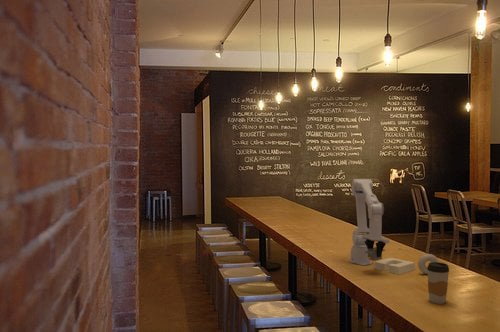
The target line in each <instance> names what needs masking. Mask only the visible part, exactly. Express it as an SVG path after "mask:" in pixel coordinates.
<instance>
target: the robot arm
mask: <svg viewBox="0 0 500 332" xmlns="http://www.w3.org/2000/svg"><path fill="white" fill-rule="evenodd" d="M373 185H374V184H373V181H372V179H371V178H353V179H352V181H351V186H350V187H351V194H352V196H353V197H355V206H356V209H355V210H356V221H357V222H356V223H357V227H356V228H355V229H354V230H353V231H352V238H351V239H352V246H351V248H350V260H349V263H351V264H357V265H360V266H367V265H372V264H374V262H373V261H371V260H368V253H365V251H368V249H370V248H375V247H376V248H377V257H381V254H382V255H383V251H382V250H383V249H385V247H386V245H387V244H390V239H389V238H386V237H383V236H382V227H383V226H382V225H383V223H382V219H383V217H382V216H383V215H384V214H385V213H384V212H385V207H384V203H382V202H380V201H379V200H378V197H377V195H376V194H374V193H373V190H372V189H373ZM366 205H367V210H366ZM367 212H368V213H367ZM367 214H368V219H369V225H368V221H367ZM374 246H375V247H374Z"/></svg>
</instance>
